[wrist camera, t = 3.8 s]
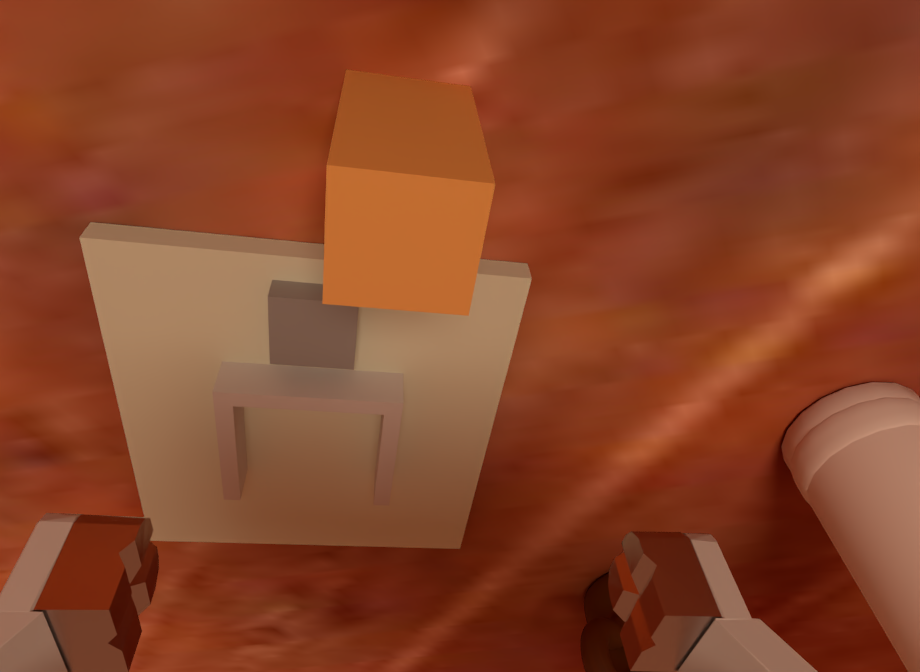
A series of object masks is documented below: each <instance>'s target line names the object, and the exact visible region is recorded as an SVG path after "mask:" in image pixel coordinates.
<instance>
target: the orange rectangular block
mask: <svg viewBox="0 0 920 672" xmlns="http://www.w3.org/2000/svg"><path fill="white" fill-rule="evenodd" d="M494 188H495V181H494V177H493V173H492V169H491V165H490V161H489V157H488V153H487V149H486V145H485V141H484V137H483V133H482V129H481V125H480V121H479V117H478V113H477V109H476V106H475V102H474V98H473V94H472V90H471V86H465V85H457V84H450V83H443V82H435V81H428V80H420V79H413V78H406V77H398V76H391V75H383V74H376V73H368V72H361V71H354V70H346V73H345V78H344V83H343V87H342V92H341V97H340V102H339V107H338V112H337V117H336V122H335V127H334V132H333V137H332V141H331V146H330V151H329V156H328V161H327V173H326V205H325V237H324V269H323V301H322V304H330V305H343V306H355V307H367V308H379V309H392V310H404V311H416V312H428V313H441V314H453V315H465V316H469V311H470V306H471V301H472V296H473V291H474V287H475V282H476V277H477V272H478V267H479V262H480V257H481V252H482V247H483V242H484V237H485V232H486V227H487V222H488V218H489V213H490V208H491V203H492V198H493V193H494Z"/></svg>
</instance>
